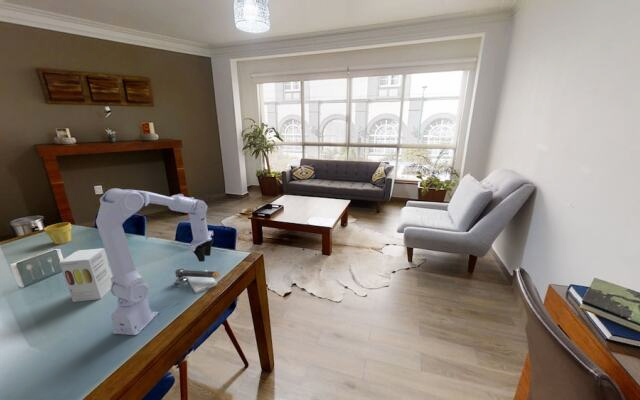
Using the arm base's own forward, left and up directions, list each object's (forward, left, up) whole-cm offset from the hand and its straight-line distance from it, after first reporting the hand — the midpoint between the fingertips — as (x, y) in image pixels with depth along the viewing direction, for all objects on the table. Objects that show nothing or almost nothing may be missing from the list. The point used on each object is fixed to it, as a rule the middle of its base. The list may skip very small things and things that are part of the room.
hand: (204, 258), depth 104 cm
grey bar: (-5, +2, -6) cm, 7 cm away
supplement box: (-15, +38, -9) cm, 42 cm away
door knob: (-5, +9, -8) cm, 13 cm away
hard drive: (-4, 0, -9) cm, 10 cm away
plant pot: (+24, +100, -9) cm, 103 cm away
